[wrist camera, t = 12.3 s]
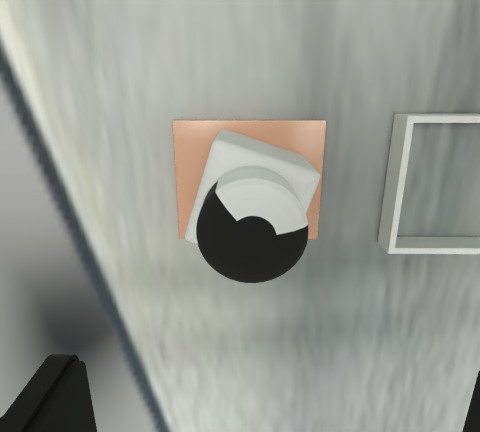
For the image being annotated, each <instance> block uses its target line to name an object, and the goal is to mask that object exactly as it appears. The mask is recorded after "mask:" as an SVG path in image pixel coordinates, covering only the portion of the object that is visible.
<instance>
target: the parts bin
mask: <svg viewBox="0 0 480 432" xmlns="http://www.w3.org/2000/svg"><path fill="white" fill-rule="evenodd" d="M414 123H480V114H395V115H394V122H393V130H392V137H391V145H390V152H389V160H388V167H387V175H386V182H385V190H384V197H383V205H382V212H381V220H380V227H379V235H378V243H379V244H380V245H381V246H382V247H383V249H384V250H385V251H386V252H387V253H388V254H480V237H397V232H398V225H399V218H400V212H401V205H402V198H403V192H404V185H405V178H406V172H407V165H408V159H409V152H410V145H411V139H412V132H413V125H414Z"/></svg>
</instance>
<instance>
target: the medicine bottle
mask: <svg viewBox="0 0 480 432" xmlns="http://www.w3.org/2000/svg"><path fill="white" fill-rule="evenodd" d="M319 180H320V174H319V172H318V171H317V170H316V169H315V168H314V167H313V166H312V165H311V164H310V162H309V161H308V160H307V159H306V158H305V157H304V156H303V155H301V154H298V153H295V152H292V151H289V150H286V149H283V148H280V147H277V146H274V145H271V144H269V143H266V142H263V141H260V140H257V139H254V138H251V137H248V136H245V135H242V134H239V133H236V132H233V131H230V130H227V129H221V130H220V131H219V133H218V134H217V136H216V138H215V140H214V141H213V143H212V146H211V150H210V153H209V156H208V160H207V163H206V166H205V170H204V173H203V176H202V180H201V183H200V186H199V190H198V193H197V196H196V200H195V203H194V206H193V210H192V213H191V216H190V220H189V223H188V226H187V230H186V233H185V239H186V241H188V242H191V243H194V244H197V245H198V246H199V249H200V251H201V253H202V255H203V257H204V258H205V260H206V261H207V262H208V264H209V265H210V266H211V267H212V268H213V269H214V270H216V271H217V272H218V273H220V274H221V275H223V276H225V277H227V278H230V279H232V280H235V281H239V282H245V283H258V282H265V281H269V280H272V279H274V278H277V277H279V276H281V275H283V274H284V273H286V272H287V271H288V270H290V269H291V268H292V267H293V266H294V265H295V264H296V263H297V261H298V260H299V259H300V257H301V255H302V254H303V252H304V250H305V247H306V244H307V240H308V232H309V230H308V221H307V216H306V212H307V210H308V207H309V205H310V202H311V200H312V198H313V195H314V193H315V190H316V188H317V185H318V183H319Z"/></svg>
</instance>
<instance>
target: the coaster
mask: <svg viewBox="0 0 480 432" xmlns="http://www.w3.org/2000/svg"><path fill="white" fill-rule="evenodd" d="M325 128H326V120H173V136H174V153H175V170H176V187H177V204H178V222H179V239H185V233H186V230H187V226H188V223H189V220H190V216H191V213H192V210H193V206H194V203H195V200H196V196H197V193H198V190H199V186H200V183H201V180H202V176H203V173H204V170H205V166H206V163H207V160H208V156H209V153H210V150H211V146H212V143H213V141H214V140H215V138H216V136H217V134H218V133H219V131H220V130H221V129H227V130H230V131H233V132H236V133H239V134H242V135H245V136H248V137H251V138H254V139H257V140H260V141H263V142H266V143H269V144H271V145H274V146H277V147H280V148H283V149H286V150H289V151H292V152H295V153H298V154H301V155H303V156H304V157H305V158H306V159H307V160H308V161H309V162H310V164H311V165H312V166H313V167H314V168H315V169H316V170H317V171H318V172H319V174H320V180H319V183H318V185H317V188H316V190H315V193H314V195H313V198H312V200H311V202H310V205H309V207H308V210H307V212H306V216H307V221H308V230H309V232H308V239H317V236H318V222H319V209H320V195H321V182H322V169H323V155H324V142H325Z"/></svg>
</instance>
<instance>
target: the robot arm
mask: <svg viewBox="0 0 480 432" xmlns="http://www.w3.org/2000/svg"><path fill="white" fill-rule="evenodd" d="M0 432H97V429H96V423H95V417H94V412H93V406H92V400H91V395H90V389H89V383H88V377H87V372H86V366H85V363H84V362H83V361H79V359H78V357H77V356H76V355H60V354H58V355H57V354H52V355H50V356H48V357H47V358H46V359H45V361H44V362H43V364H42V365H41V366H40V368H39V369H38V370H37V372H36V373H35V374H34V376H33V377H32V378H31V380H30V381H29V382H28V384H27V385H26V386H25V388H24V389H23V390H22V392H21V393H20V394H19V396H18V397H17V398H16V400H15V401H14V402H13V404H12V405H11V406H10V408H9V409H8V410H7V412H6V413H5V414H4V416H2V417H1V418H0ZM463 432H480V371H479V373H478V377H477V380H476V384H475V388H474V391H473V395H472V399H471V402H470V406H469V410H468V414H467V417H466V421H465V425H464V428H463Z"/></svg>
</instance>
